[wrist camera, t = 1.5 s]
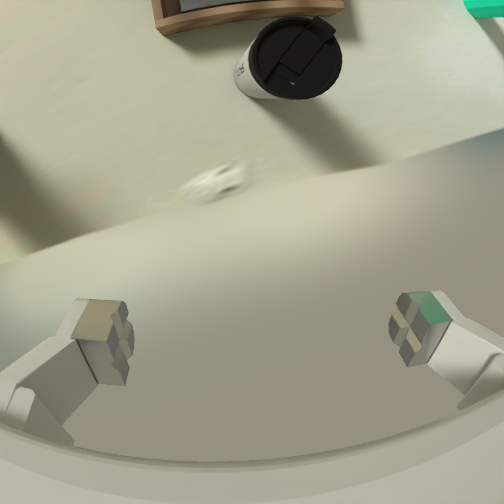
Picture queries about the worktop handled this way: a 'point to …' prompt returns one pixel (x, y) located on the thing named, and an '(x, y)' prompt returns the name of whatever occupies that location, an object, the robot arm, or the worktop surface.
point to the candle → (485, 8)
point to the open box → (236, 13)
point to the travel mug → (290, 60)
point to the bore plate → (211, 4)
